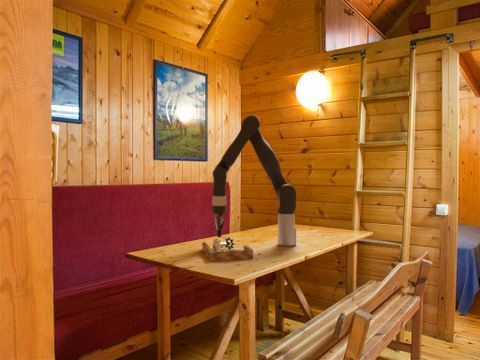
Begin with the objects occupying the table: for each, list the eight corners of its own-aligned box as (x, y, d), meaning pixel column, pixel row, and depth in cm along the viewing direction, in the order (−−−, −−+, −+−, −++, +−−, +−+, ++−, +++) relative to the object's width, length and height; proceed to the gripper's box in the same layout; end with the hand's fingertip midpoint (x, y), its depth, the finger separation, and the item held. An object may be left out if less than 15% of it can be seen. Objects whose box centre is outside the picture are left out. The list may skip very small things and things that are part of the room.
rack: (239, 247, 197) (239, 239, 197) (253, 258, 172) (253, 248, 172) (202, 249, 192) (202, 241, 192) (210, 261, 167) (210, 251, 167)
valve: (218, 254, 183) (234, 250, 192) (218, 240, 182) (234, 237, 192) (209, 252, 187) (225, 248, 196) (209, 239, 187) (225, 236, 196)
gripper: (228, 205, 192) (228, 238, 193) (223, 203, 205) (223, 234, 206) (214, 205, 191) (214, 239, 191) (210, 203, 203) (209, 235, 204)
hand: (219, 236), depth 198 cm, fingers closed
